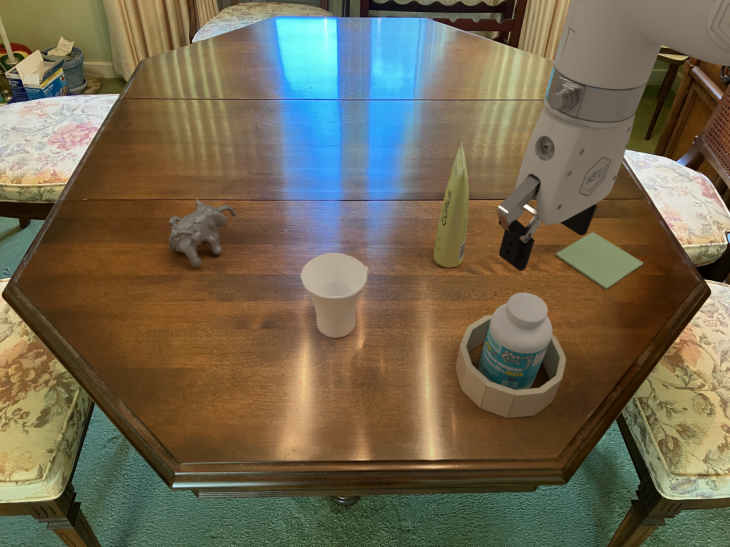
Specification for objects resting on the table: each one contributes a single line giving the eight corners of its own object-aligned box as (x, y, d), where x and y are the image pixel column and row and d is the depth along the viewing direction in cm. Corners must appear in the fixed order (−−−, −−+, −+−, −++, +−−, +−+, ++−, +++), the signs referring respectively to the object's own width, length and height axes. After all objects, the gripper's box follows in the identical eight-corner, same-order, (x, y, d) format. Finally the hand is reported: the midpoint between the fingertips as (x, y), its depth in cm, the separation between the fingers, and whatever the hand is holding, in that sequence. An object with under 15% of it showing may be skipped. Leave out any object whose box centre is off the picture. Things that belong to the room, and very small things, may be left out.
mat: (642, 264, 91) (643, 262, 90) (605, 289, 86) (606, 287, 86) (592, 233, 96) (592, 231, 96) (555, 255, 92) (555, 253, 92)
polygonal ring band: (575, 383, 73) (586, 360, 70) (508, 435, 67) (516, 413, 64) (502, 324, 80) (509, 300, 77) (436, 366, 75) (440, 342, 71)
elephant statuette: (161, 260, 90) (149, 223, 84) (203, 219, 98) (195, 182, 92) (209, 275, 87) (200, 238, 82) (249, 232, 95) (243, 195, 90)
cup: (374, 340, 78) (376, 290, 71) (309, 350, 76) (305, 300, 70) (361, 296, 84) (362, 246, 77) (301, 305, 83) (296, 255, 76)
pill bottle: (466, 375, 74) (482, 306, 64) (496, 344, 78) (516, 275, 68) (514, 408, 70) (539, 340, 61) (544, 374, 74) (571, 305, 65)
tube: (424, 254, 92) (436, 151, 78) (446, 243, 94) (461, 140, 80) (447, 273, 88) (464, 168, 75) (470, 260, 91) (490, 157, 77)
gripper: (563, 139, 41) (514, 299, 52) (689, 83, 48) (621, 233, 60) (489, 100, 45) (459, 256, 57) (616, 54, 53) (566, 200, 64)
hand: (543, 244), depth 58 cm, fingers open, 9 cm apart
